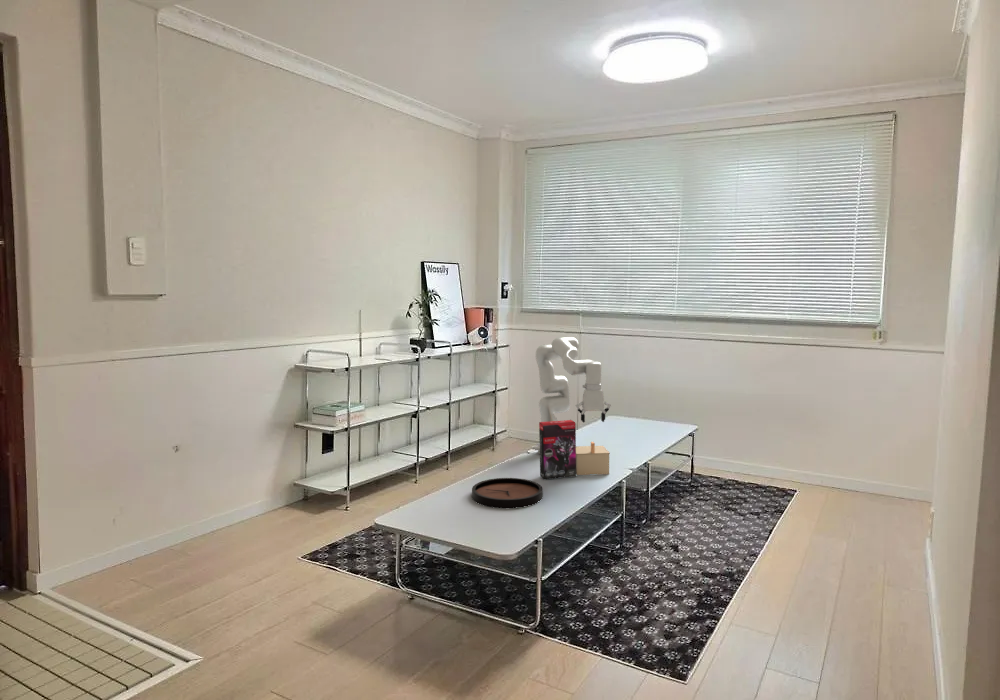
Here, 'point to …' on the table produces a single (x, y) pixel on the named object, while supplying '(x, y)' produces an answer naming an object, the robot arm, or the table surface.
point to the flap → (591, 450)
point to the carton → (592, 464)
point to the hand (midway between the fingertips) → (593, 421)
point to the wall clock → (507, 492)
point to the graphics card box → (557, 449)
